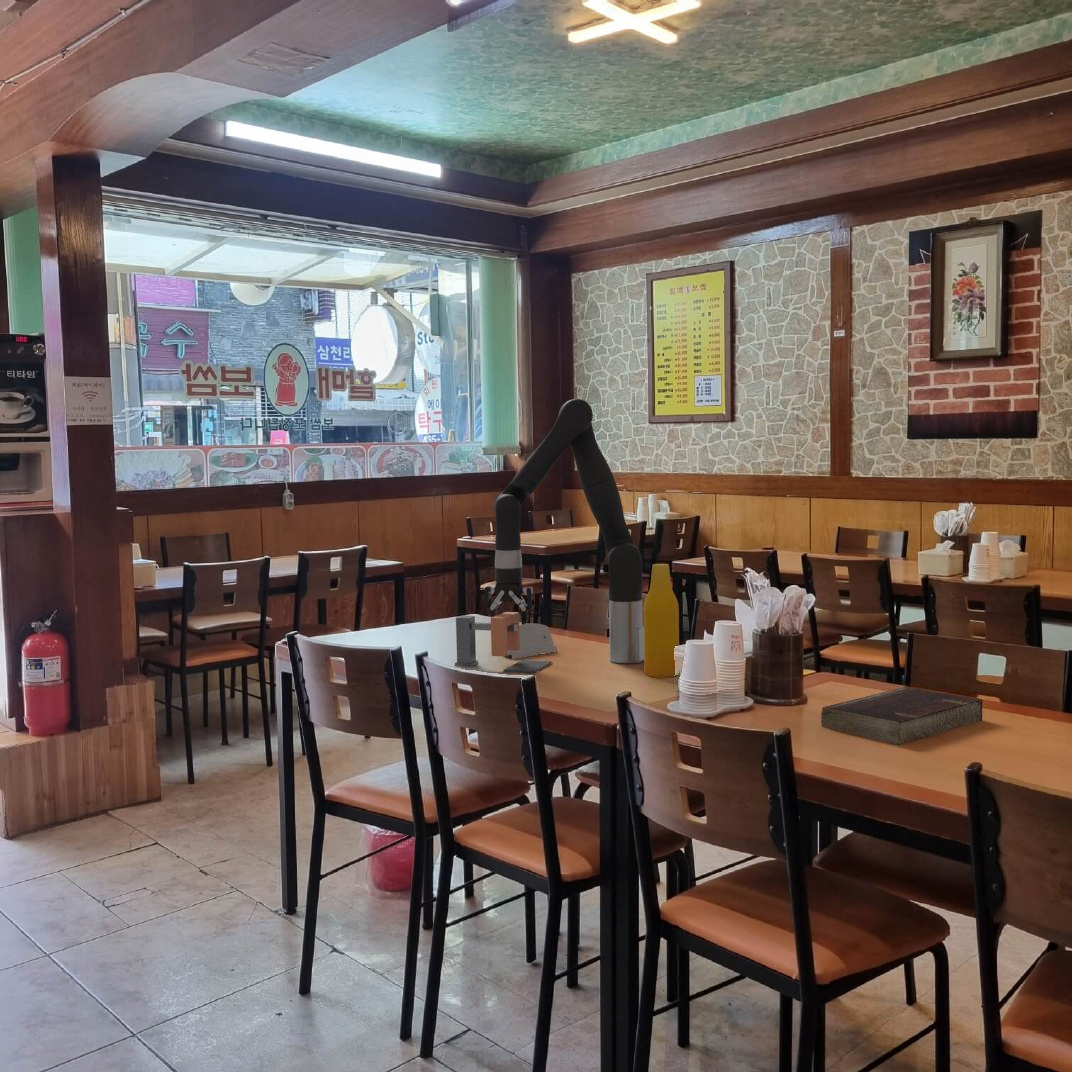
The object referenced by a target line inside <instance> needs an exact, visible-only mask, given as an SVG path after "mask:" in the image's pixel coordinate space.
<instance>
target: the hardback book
mask: <svg viewBox="0 0 1072 1072" xmlns="http://www.w3.org/2000/svg"><path fill="white" fill-rule="evenodd" d="M982 721H983V698H982V699H981V698H975V697H970V696H966V695H965V696H964V695H957V694H951V693H945V692H938V691H934V690H933V691H932V690H928V689H927V690H926V689H920V688H914V687H908V686H903V687H900V688H895V689H891V690H888V691H884V692H879V693H876V694H871V695H867V696H863V697H859V698H856V699H851V700H847V701H843V702H838V703H835V704H831V705H827V706H823V707H822V708H821V722H820V723H821V727H822V728H825V729H830V730H833V731H834V730H835V731H839V732H843V733H847V734H851V735H854V736H859V737H864V738H868V739H872V740H876V741H881V742H884V743H885V742H886V743H890V744H894V745H898V746H901V745H905V744H908V743H912V742H915V741H918V740H921V739H926V738H928V737H932V736H935V735H939V734H942V733H946V732H949V731H951V730H954V729H958V728H962V727H965V726H968V725H971V724H975V723H979V722H982Z"/></svg>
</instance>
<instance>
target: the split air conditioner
mask: <svg viewBox="0 0 1072 1072" xmlns="http://www.w3.org/2000/svg"><path fill="white" fill-rule="evenodd" d="M519 634H520V650H518V651H515V650H508V656H507V657H511V659H512V660H515V659H523V658H527V656H529V657H535V656H539V655H538V654H541V653H548V654H551V653H550V652H554V651H558V647H557V645H556V644H555V643H554V640H553V637H552V635H551V631H550V629H549V627H548V625H545V624H542V623H528V622H527V623H526V624H525V625H522V623H521V624H519ZM534 655H535V656H534Z"/></svg>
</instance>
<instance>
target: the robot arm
mask: <svg viewBox="0 0 1072 1072" xmlns="http://www.w3.org/2000/svg"><path fill="white" fill-rule="evenodd" d="M558 411H559V412H558V415H557V418H556V421H555V422H554V424H553V427H552V428H551V429H550V431H549V432H548V434H547V435H546V437H545V438H544V439H543V441H541V443H540V444H539V445H538V447H537V448H536V449H535V450H534V451H533V452H532V453H531V455H529V456H528V458H527V459H526V461H525V462H524V463H523V465H521V467H520V468H519V470H518V471H517V472H516V474H515V475H514V477H513V479H512V480H511V481H510V483H508V485H507V486H506V487H505V488H504V489H503V491H502V492H501V493H500V494H499V495H498V497H497V498H496V500H495V501H494V505H493V506H494V512H495V522H496V523H495V524H496V526H495V527H496V531H495V538H494V539H495V540H494V541H495V554H494V571H495V572H494V577H495V580H494V581H495V586H491V585H488V586H485V587H484V601H483V602H484V605H483V606H484V608H486V609H489V610H490V618H491V617H494V616H497V615H499V609H498V608H499V606H500V604H502V603H511V604H513V603H515V604H516V605H517V606H518V607H519V608H520V609H521V612H520V613H521V619H520V620H521V624H522V625H525V624H528V622H529V611H530V610H532V609H534V608H535V606H536V604H535V603H536V602H535V592H534V591H535V590H534V587H533V586H529V587H524V586H523V557H522V552H521V551H522V550H521V548H522V545H521V543H522V542H521V517H522V514H521V512H522V511H521V509H522V507H523V505H524V504H525V503H526V501H527V500H528V498H529V497H530V496H531V495H533V493H534V492H536V490H537V489H538V488H539V486H540V485H541V484H542V483H543V482H544V480H545V479H546V477H547V476H548V475H549V473H550V471H552V468H553V467H554V466H555V465H556V463H557V461H558V460H559V458H560V457H561V455H562V454H563V453H564V452H565V450H566V449H567V448H568V446H570V448H571V452H572V454H573V457H574V461H575V467H576V470H577V473H578V477H579V481H580V484H581V488H582V490H583V494H584V496H585V499H586V502H587V505H588V506H589V509H590V511H591V513H592V515H593V517H594V519H595V521H596V524H597V525H598V527H599V529H600V532H601V534H602V538H603V542H604V546H605V550H606V554H607V562H608V607H609V608H608V609H609V610H608V611H609V612H608V616H609V617H608V618H609V621H608V623H609V626H608V627H609V661H610V662H612V663H617V664H636V663H637V664H640V663H642V662H644V625H643V558H642V553H641V552H640V549H639V548H638V546H637V545H636V543H635V541H634V539H633V537H632V535H631V533H630V530H629V528H628V525H627V522H626V518H625V514H624V513H625V512H624V508H623V504H622V499H621V495H620V491H619V489H618V486H617V483H616V479H615V477H614V474H613V472H612V470H611V468H610V465H609V463H608V462H607V459H606V457H605V456H604V454H603V453H602V451H601V449H600V447H599V444H598V442H597V439H596V436H595V432H594V429H593V428H594V427H593V423H592V421H593V416H594V413H593V408H592V406H591V405H590V404H589V403H588V402H587V401H586V400H584V399H581V398H580V399H579V398H573V399H570V400H567V401H566V402H565V403H563V405H562V406H561V407H560V409H559V410H558ZM494 593H495V594H496V597H495V599H494V601H493V602H492V599H493V596H492V595H493V594H494ZM523 593H524V594H525V596H526V600H525V598H524V597H523V596H522V595H523ZM526 601H527V603H526Z"/></svg>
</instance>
